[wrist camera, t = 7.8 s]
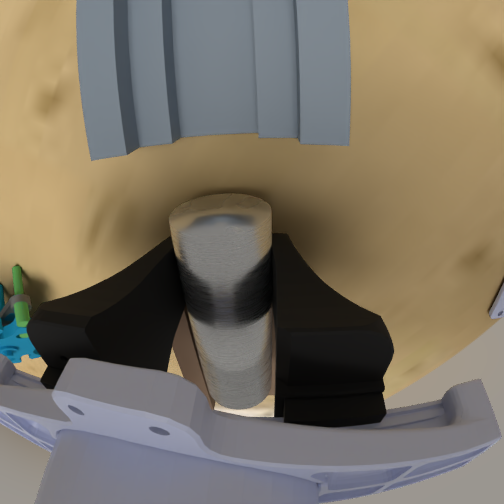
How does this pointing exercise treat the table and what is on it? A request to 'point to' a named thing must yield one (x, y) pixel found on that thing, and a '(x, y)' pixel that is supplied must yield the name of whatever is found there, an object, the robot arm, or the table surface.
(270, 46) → the v block
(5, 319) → the gear
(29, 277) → the table surface
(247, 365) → the axle
